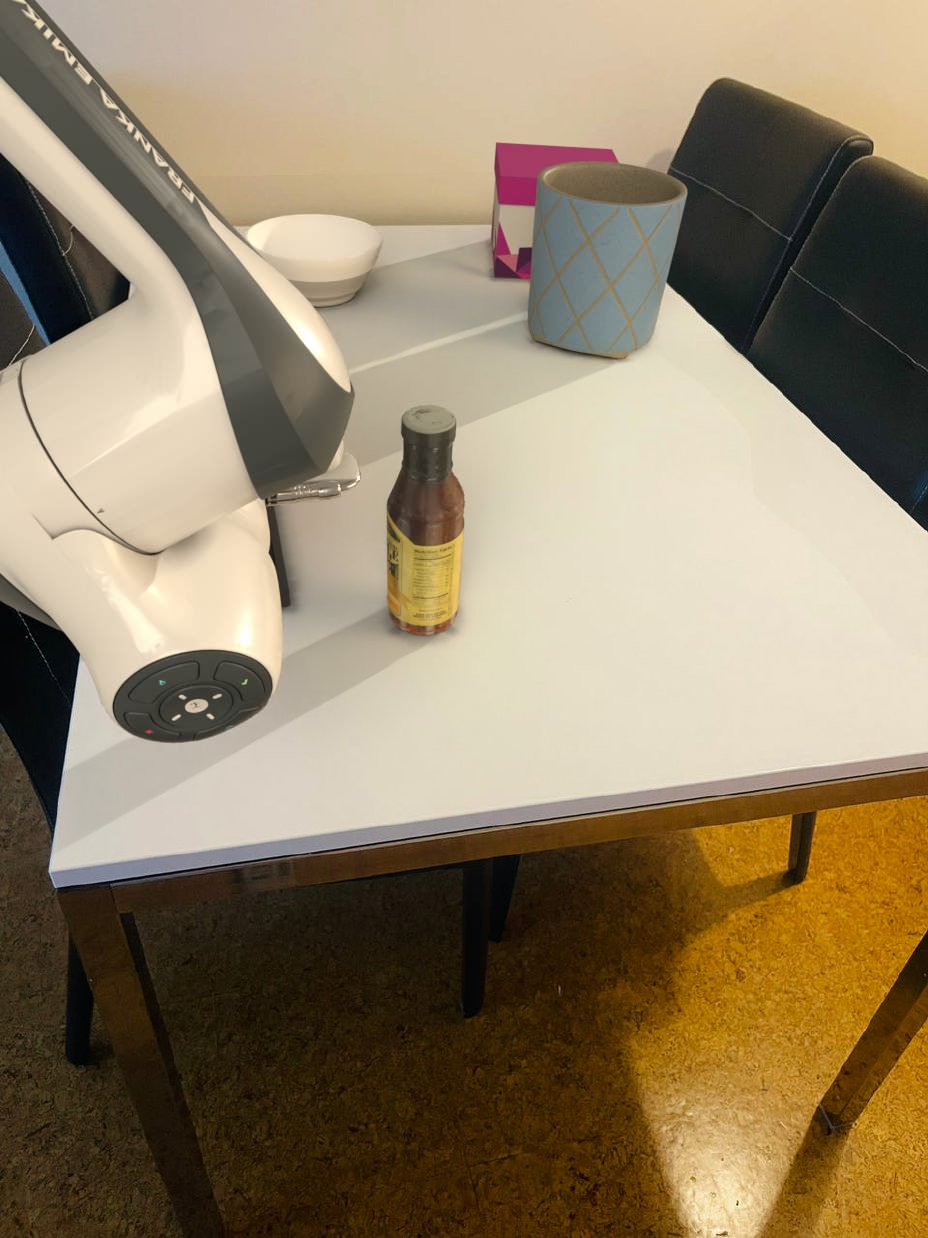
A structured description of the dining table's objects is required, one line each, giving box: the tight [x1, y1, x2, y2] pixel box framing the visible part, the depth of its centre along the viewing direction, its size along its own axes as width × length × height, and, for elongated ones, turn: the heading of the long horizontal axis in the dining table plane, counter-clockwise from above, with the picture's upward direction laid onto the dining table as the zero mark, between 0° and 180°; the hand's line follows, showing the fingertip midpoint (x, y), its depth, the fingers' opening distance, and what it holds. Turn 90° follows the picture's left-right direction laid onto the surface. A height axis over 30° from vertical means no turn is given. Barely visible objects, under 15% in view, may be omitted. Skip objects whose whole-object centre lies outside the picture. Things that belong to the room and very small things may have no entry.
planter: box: [527, 161, 688, 359], centre depth 119 cm, size 19×19×20 cm
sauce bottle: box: [386, 404, 466, 636], centre depth 71 cm, size 6×6×20 cm
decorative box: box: [490, 142, 620, 280], centre depth 142 cm, size 19×19×15 cm
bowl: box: [243, 213, 384, 308], centre depth 129 cm, size 20×19×8 cm
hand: (181, 396), depth 61 cm, fingers closed on soda can, 5 cm apart
